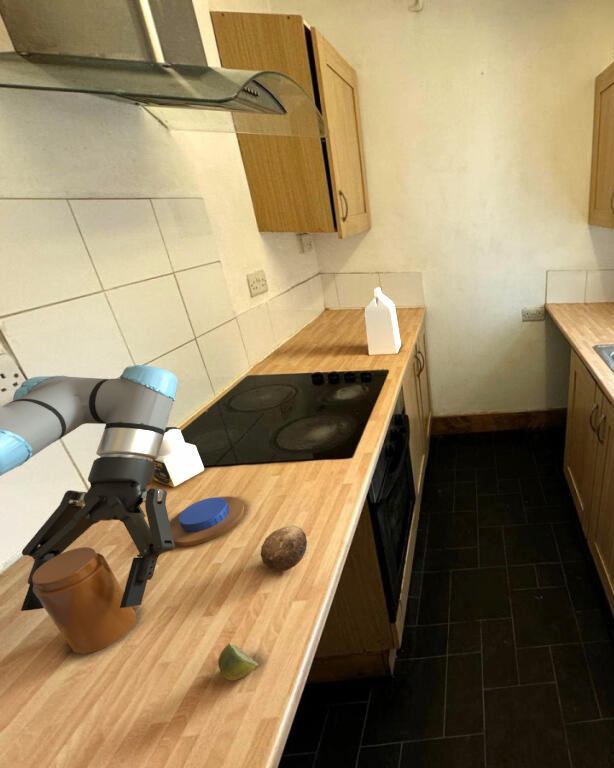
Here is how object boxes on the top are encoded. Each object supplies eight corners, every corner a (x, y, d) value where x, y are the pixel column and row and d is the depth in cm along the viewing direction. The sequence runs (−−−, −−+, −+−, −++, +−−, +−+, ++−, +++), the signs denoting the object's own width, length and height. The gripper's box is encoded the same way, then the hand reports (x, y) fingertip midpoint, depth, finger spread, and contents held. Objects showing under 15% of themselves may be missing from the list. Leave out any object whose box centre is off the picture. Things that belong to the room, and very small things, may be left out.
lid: (237, 505, 87) (235, 498, 86) (209, 533, 79) (206, 525, 79) (202, 503, 87) (199, 496, 86) (171, 530, 80) (168, 523, 79)
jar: (57, 652, 60) (10, 584, 54) (106, 607, 66) (68, 543, 61) (103, 656, 59) (60, 588, 54) (148, 610, 66) (113, 545, 60)
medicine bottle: (154, 480, 96) (134, 436, 91) (186, 463, 102) (169, 421, 97) (174, 487, 94) (154, 442, 89) (205, 470, 100) (189, 426, 95)
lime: (234, 656, 59) (223, 632, 57) (268, 654, 59) (259, 630, 57) (215, 690, 55) (203, 666, 53) (252, 687, 55) (242, 663, 53)
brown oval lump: (306, 519, 79) (286, 512, 74) (325, 552, 76) (305, 547, 70) (269, 548, 78) (246, 544, 72) (287, 584, 74) (264, 581, 69)
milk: (374, 345, 183) (365, 286, 173) (400, 344, 185) (393, 285, 174) (368, 354, 173) (359, 292, 162) (397, 353, 174) (389, 291, 163)
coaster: (149, 544, 78) (147, 540, 78) (201, 498, 90) (200, 495, 90) (213, 548, 77) (211, 544, 77) (258, 501, 89) (257, 497, 89)
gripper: (220, 461, 71) (189, 601, 63) (71, 465, 70) (22, 606, 63) (188, 453, 64) (149, 609, 56) (22, 457, 63) (-40, 614, 56)
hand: (82, 608), depth 59 cm, fingers open, 13 cm apart
